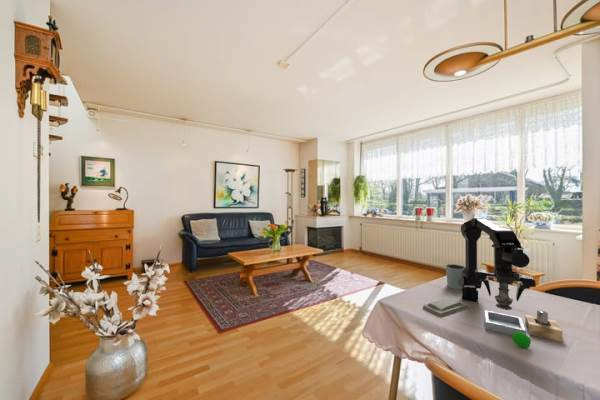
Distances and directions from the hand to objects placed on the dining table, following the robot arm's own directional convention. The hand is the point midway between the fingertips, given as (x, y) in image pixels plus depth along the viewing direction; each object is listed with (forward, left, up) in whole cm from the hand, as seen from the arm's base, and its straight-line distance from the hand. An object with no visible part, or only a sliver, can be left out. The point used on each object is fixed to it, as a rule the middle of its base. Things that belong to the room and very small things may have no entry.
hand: (503, 298), depth 101 cm
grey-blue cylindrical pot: (-19, +41, -12) cm, 47 cm away
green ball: (+4, -13, -12) cm, 18 cm away
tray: (0, 0, -12) cm, 12 cm away
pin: (+12, +3, -12) cm, 17 cm away
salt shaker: (0, 0, -4) cm, 4 cm away
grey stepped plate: (-21, +6, -13) cm, 25 cm away
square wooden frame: (+12, +3, -12) cm, 17 cm away
